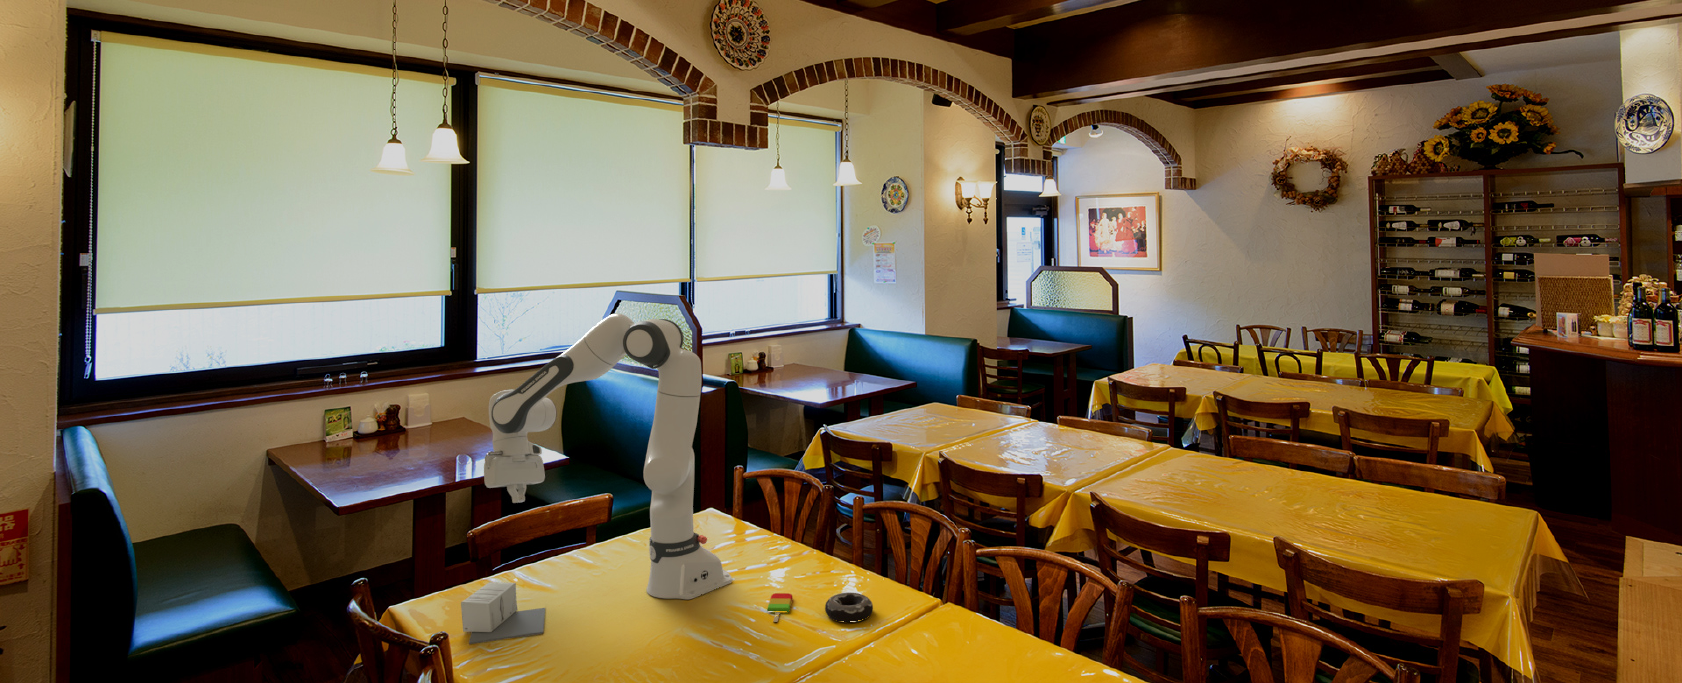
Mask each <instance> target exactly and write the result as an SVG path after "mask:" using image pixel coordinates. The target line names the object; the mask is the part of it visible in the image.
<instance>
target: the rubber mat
mask: <svg viewBox="0 0 1682 683" xmlns="http://www.w3.org/2000/svg"><path fill="white" fill-rule="evenodd" d="M545 617H546V607H541V608H533V609H532V608H531V609H525V610H517V611H516V612H514V613H513V614H512V615H511V616H510V617H509V618H507V619H506V620H505V621H504V622H503V623H501V624H500V625H499V626H498V627H497V628H495V629H494V630H493V631H492V632H471V633H470V637H469V640H468V645H472V644H479V643H487V642H494V641H500V640H502V641H503V640H507V639H514V638H522V637H530V636H536V635H542V634H544V631H545V630H544V628H545Z"/></svg>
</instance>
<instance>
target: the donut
mask: <svg viewBox="0 0 1682 683" xmlns="http://www.w3.org/2000/svg"><path fill="white" fill-rule="evenodd" d="M873 609H874V605H873V602H872V600H871V599H870V598H869V597H868V596H866V595H864V594H861V593H860V592H859V593H857V592H842V593H837V594H835V595H832V596H831V597H829V598H828V599H827V600H826V602H825V606H824V610H825V613H826V615H827V616H828V618H829V619H831V618H832V619H831V620H833V619H834V620H833V621H835V620H837V621H844V622H850V621H858V620H862V619H865V618H867V617H868V616H869V617H870V616H871V614H872V613H873ZM869 617H868V618H869ZM868 618H867V619H868ZM865 620H866V619H865ZM837 621H836V622H837Z"/></svg>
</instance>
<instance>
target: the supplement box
mask: <svg viewBox="0 0 1682 683" xmlns="http://www.w3.org/2000/svg"><path fill="white" fill-rule="evenodd" d="M517 604H518V602H517V583H516V582H502V581H501V582H500V581H498V582H497V581H494V582H493V581H489V582H488V583H486V584H484V585H483V586H482V587H480V588H479V589H478V590H476V591H475V592H473V593H472V594H470V595H469V596H468V597H467V598H465V599H464V600H462V601H461V602H460V608H461V621H462V622H461V623H462V631H463V633H466V632H468V633H470V632H471V633H472V632H492V631H493V630H494V629H495V628H497V627H498V626H499V625H500V624H501V623H503V622H504V621H505V620H506V619H507V618H509V617H510V616H511V615H512V614H513V613H514V612H516V611H518V605H517Z"/></svg>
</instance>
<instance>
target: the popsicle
mask: <svg viewBox="0 0 1682 683" xmlns="http://www.w3.org/2000/svg"><path fill="white" fill-rule="evenodd" d="M792 599H793V594H792V593H785V592H783V593H782V592H781V593H780V592H779V593H773V594H771V596H770V600H769V602H768V606H767V608H766V609H767V610H766V612H767V611H787V612H789V610H790V611H791V608H790V606H791V607H792V604H791V602H792V603H793V600H792ZM789 613H790V612H789ZM779 614H781V613H780V612H776V613H774V617H773V623H774V622H777V623H778V622H779V619H780V615H779ZM775 615H779V617H778V616H776V617H775Z"/></svg>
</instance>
